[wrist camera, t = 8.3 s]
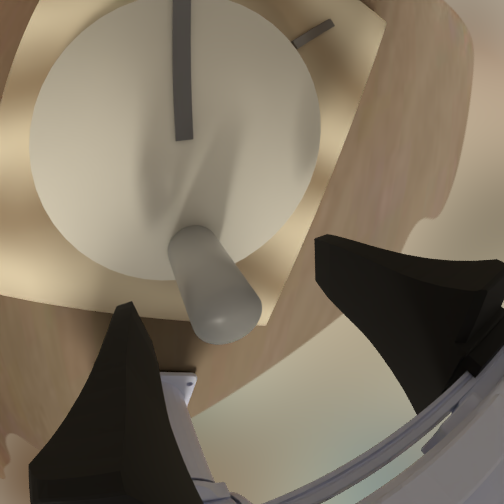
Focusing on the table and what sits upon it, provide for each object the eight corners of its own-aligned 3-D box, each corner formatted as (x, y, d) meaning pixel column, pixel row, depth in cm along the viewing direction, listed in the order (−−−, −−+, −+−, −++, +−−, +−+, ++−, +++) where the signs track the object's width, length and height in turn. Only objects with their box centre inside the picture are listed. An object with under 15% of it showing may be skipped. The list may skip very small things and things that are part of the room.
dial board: (256, 312, 22) (266, 327, 20) (-5, 278, 13) (-14, 293, 11) (371, 25, 14) (389, 22, 13) (109, -86, 6) (110, -101, 4)
